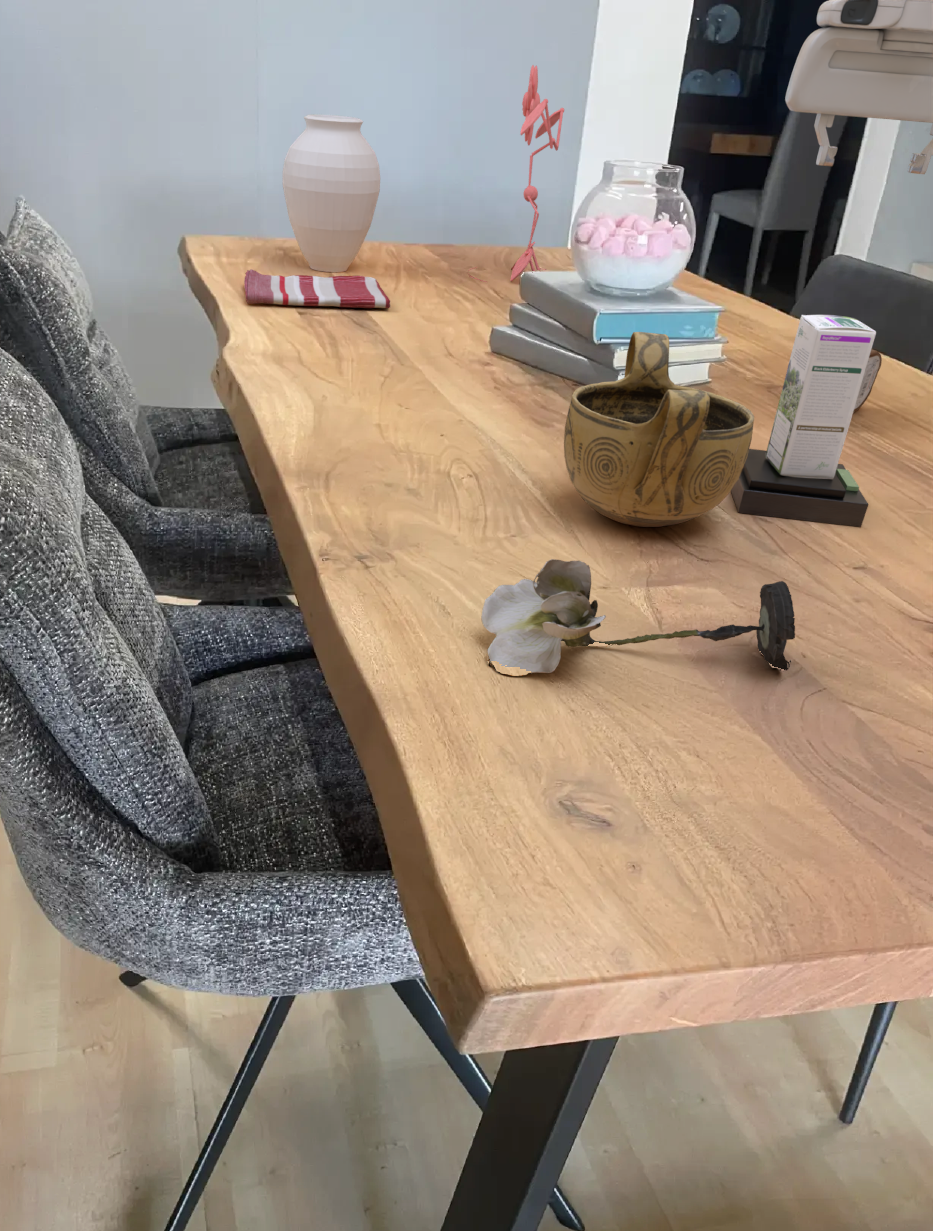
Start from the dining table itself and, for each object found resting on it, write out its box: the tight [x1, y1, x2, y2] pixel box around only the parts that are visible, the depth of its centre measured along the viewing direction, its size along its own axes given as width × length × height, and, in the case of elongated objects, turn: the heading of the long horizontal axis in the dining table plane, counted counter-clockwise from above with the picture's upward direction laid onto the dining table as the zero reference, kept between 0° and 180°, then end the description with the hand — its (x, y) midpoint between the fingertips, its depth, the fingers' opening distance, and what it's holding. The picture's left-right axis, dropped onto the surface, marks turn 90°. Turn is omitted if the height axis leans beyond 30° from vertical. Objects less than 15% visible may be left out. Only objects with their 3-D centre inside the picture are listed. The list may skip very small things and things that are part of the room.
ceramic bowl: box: [563, 331, 755, 528], centre depth 99 cm, size 22×17×15 cm
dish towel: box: [243, 268, 391, 309], centre depth 176 cm, size 17×23×3 cm
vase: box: [282, 113, 381, 273], centre depth 193 cm, size 18×18×25 cm
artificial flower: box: [481, 558, 796, 674], centre depth 76 cm, size 9×22×10 cm, turn 88°
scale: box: [730, 448, 869, 528], centre depth 109 cm, size 12×12×3 cm
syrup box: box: [765, 314, 877, 479], centre depth 104 cm, size 6×6×14 cm
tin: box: [853, 348, 883, 414], centre depth 135 cm, size 15×3×8 cm, turn 134°
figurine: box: [467, 64, 565, 283], centre depth 195 cm, size 15×26×35 cm, turn 170°
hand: (869, 169), depth 111 cm, fingers open, 8 cm apart
